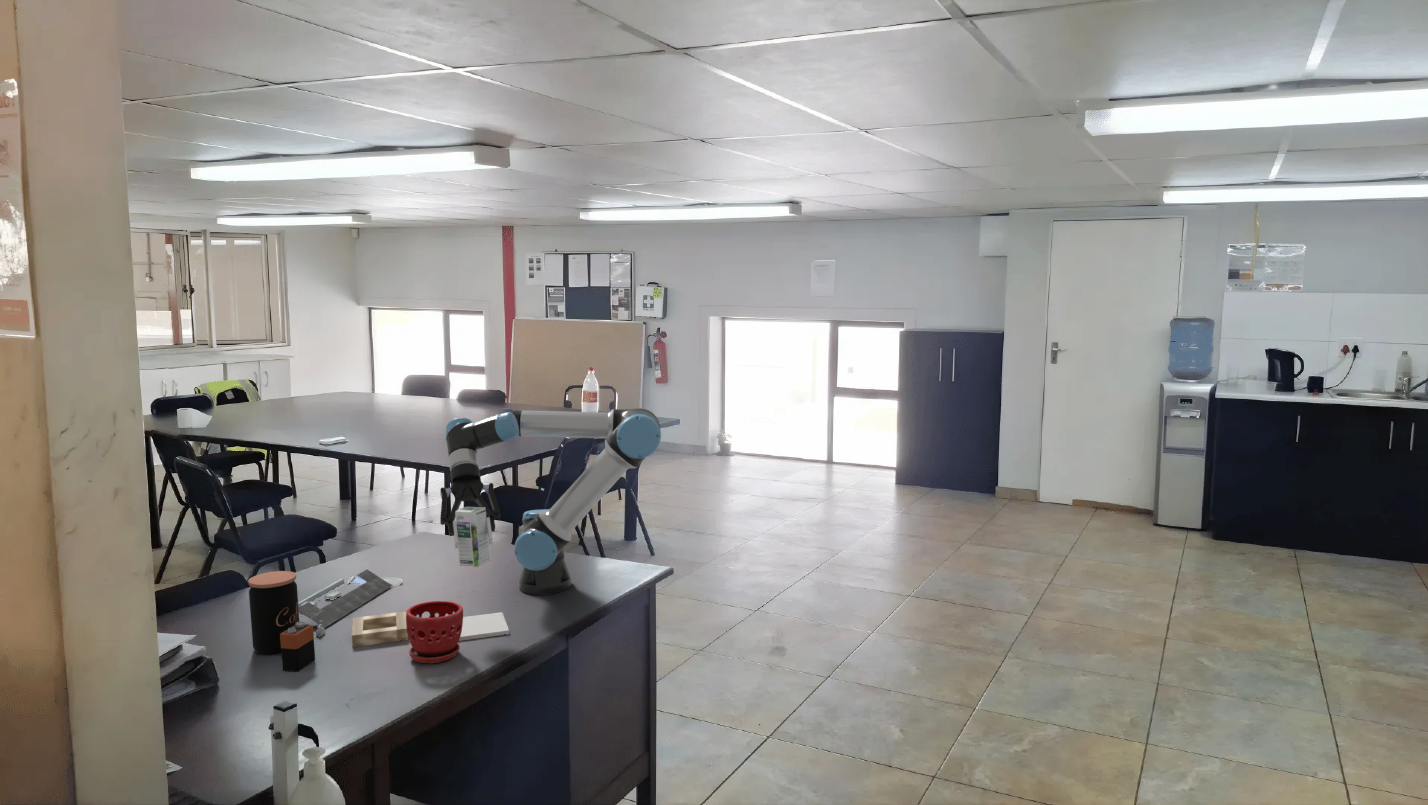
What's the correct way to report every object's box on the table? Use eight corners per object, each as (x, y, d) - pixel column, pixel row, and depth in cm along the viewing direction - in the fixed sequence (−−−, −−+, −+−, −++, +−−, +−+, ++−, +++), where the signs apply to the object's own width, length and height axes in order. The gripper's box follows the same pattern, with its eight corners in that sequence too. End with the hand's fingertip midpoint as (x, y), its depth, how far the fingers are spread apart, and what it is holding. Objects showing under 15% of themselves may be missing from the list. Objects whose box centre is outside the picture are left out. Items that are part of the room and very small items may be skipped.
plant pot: (434, 671, 210) (431, 622, 208) (396, 660, 217) (393, 611, 215) (476, 652, 221) (474, 605, 219) (439, 641, 228) (436, 595, 226)
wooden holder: (406, 622, 241) (405, 611, 241) (407, 639, 229) (407, 628, 228) (353, 628, 237) (353, 617, 236) (352, 647, 224) (351, 635, 224)
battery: (316, 660, 216) (313, 620, 215) (298, 672, 210) (295, 631, 209) (300, 659, 217) (297, 619, 216) (281, 671, 211) (278, 630, 209)
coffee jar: (282, 658, 218) (277, 585, 216) (243, 654, 220) (237, 583, 218) (310, 641, 229) (305, 572, 226) (272, 638, 231) (267, 569, 228)
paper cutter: (255, 635, 234) (253, 614, 233) (352, 580, 278) (351, 562, 277) (318, 639, 231) (317, 618, 230) (407, 582, 275) (406, 565, 274)
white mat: (502, 615, 245) (502, 612, 245) (509, 634, 232) (509, 630, 232) (448, 622, 240) (448, 619, 240) (452, 641, 227) (452, 638, 227)
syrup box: (458, 566, 232) (453, 511, 230) (472, 559, 238) (467, 505, 236) (477, 567, 230) (472, 512, 228) (490, 560, 236) (486, 506, 234)
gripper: (502, 474, 249) (514, 546, 236) (424, 481, 242) (431, 556, 229) (504, 458, 244) (515, 531, 231) (424, 465, 237) (431, 541, 224)
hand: (473, 543), depth 230 cm, fingers closed on syrup box, 8 cm apart
